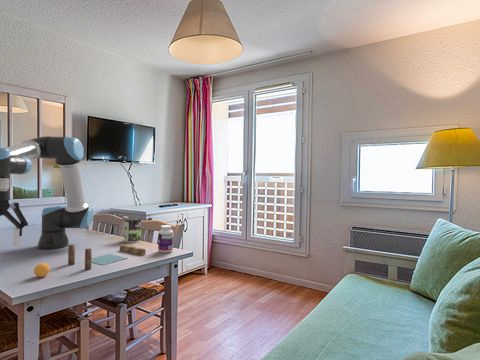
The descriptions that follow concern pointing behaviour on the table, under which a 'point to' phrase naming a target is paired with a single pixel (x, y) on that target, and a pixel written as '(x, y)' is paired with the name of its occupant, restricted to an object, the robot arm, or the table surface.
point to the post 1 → (71, 254)
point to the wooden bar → (132, 249)
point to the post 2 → (88, 258)
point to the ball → (41, 270)
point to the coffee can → (132, 230)
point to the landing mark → (107, 259)
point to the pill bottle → (165, 239)
